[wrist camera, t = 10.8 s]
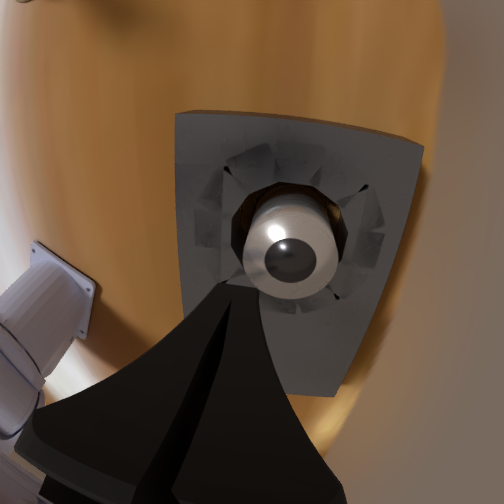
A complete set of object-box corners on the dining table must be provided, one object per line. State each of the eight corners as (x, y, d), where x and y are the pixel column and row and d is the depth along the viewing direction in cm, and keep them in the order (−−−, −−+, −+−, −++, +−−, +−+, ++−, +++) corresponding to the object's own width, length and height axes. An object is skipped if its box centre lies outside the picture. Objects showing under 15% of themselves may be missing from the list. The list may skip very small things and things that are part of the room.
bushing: (298, 261, 19) (300, 312, 15) (241, 226, 18) (225, 270, 14) (341, 210, 17) (357, 252, 13) (280, 168, 16) (277, 197, 12)
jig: (332, 370, 24) (333, 397, 22) (200, 353, 25) (191, 378, 23) (403, 137, 14) (424, 146, 12) (194, 110, 15) (175, 113, 13)
